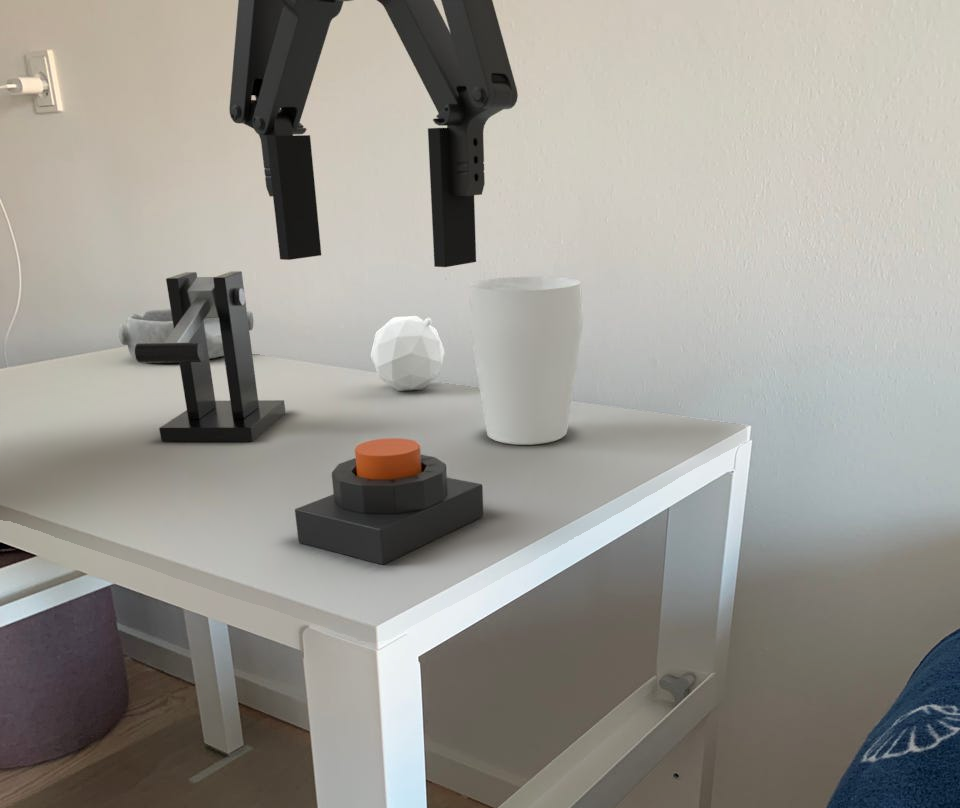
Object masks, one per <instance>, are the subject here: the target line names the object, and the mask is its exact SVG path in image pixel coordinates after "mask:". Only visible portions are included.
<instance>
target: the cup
mask: <svg viewBox="0 0 960 808" xmlns="http://www.w3.org/2000/svg"><path fill="white" fill-rule="evenodd" d="M583 322H584V315H583V299H582V281H581V280H579V279H576V278H571V277H563V276H562V277H560V276H511V277H501V278H500V277H499V278H497V277H496V278H490V279H483V280H478V281H475V282H472V283H470V284H469V318H468V328H469V335H470V340H471V346H472V352H473V353H472V354H473V359H474V364H475V370H476V376H477V377H476V378H477V383H478V387H479V393H480V395H479V396H480V400H481V404H482V405H481V406H482V412H483V418H484V424H485V429H486V435H487V437H488V438H490V439H491V440H493V441H495V442H498V443H502V444H506V445H507V444H508V445H515V446H516V445H517V446H530V445H531V446H532V445H542V444H549V443H553V442H555V441H559V440H561V439H563V438H564V437H565V436H566V435H567V433H568V427H569V420H570V414H571V408H572V407H571V406H572V400H573V393H574V387H575V380H576V373H577V366H578V358H579V354H580V346H581V345H580V344H581V338H582V333H583V332H582V331H583Z"/></svg>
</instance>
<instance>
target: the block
mask: <svg viewBox="0 0 960 808" xmlns="http://www.w3.org/2000/svg"><path fill="white" fill-rule="evenodd" d="M421 470H422V472H421V473H419V474H416V475H414V476H410V477H404V478H397V479H368V478H363V477H358V476H357V468H356V457H354V458H352V459H348V460H346V461H343V462H341V463H340V462H339V463H338V464H337V465H336V466H335V468H334V469H333V470H332V471H331V480H332V492H333V494H331V495H327V496H325V497H323V498H319V499H317V500H315V501H312V502H310V503H307V504H305V505H302V506H300V507H299V506H298V507H296V508H295V509H294V514H295V515H294V516H295V523H296V524H295V525H296V531H297V538H298V539H297V542H298V543H300V544H304V545H307V546H311V547H315V548H320V549H323V550H326V551H330V552H334V553H338V554H342V555H346V556H349V557H353V558H356V559H361V560H365V561H368V562H371V563H375V564H380V565H385V564H387V563H390V562H391V561H393V560H396V559H397V558H400V557H401V556H404V555H406V554H408V553H410V552H412V551H415V550H416V549H418V548H420V547H423V546H424V545H427V544H429V543H431V542H433V541H436V540H437V539H439V538H442V537H443V536H445V535H447V534H449V533H451V532H454V531H456V530H457V529H459V528H462V527H464V526H466V525H468V524H470V523H472V522H474V521H476V520H478V519H480V518H482V517H484V489H483V484H482V483H479V482H473V481H467V480H462V479H458V478H452V477H448V476H447V464H446V463H445V462H443V461H442V460H440V459H438V458H437V457H436V456H431V455H425V454H421Z"/></svg>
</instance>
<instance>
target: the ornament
mask: <svg viewBox="0 0 960 808" xmlns="http://www.w3.org/2000/svg"><path fill="white" fill-rule="evenodd" d="M432 324H433V320H432V319H431V317H426V318H425V319H424V320H423V319H422V318H421V317H419V316H417V315H409V316H393V317H392V318H391V319H390V320H388V321H387V322H386V323H385V324H384V325H383V326H382V327H380V328H379V329H378V330H377V331H376V332H375V335H374V339H373V343H372V348H371V352H370V358H371V360H372V363H373V366H374V368H375V370H376V373H377V376H378V378H379V379H380V380H382V381H383V382H384V383H386V384H388V385H389V386H391V387H392V388H394V389H395V390H396V391H398V392H404V391H419V390H424V388H425V387H427V386H428V385H429V384H430V383H431V382H432V381H434V379H436V378H437V377H438V376H439V375H440V374H441V373H440V372H441V369H442V366H443V365H442V364H443V361H444V357H445V351H446V350H445V348H444V346H443V343H442V341H441V338H440V334H439V332H438V330H437V328H435V327H434V326H432Z"/></svg>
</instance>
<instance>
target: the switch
mask: <svg viewBox="0 0 960 808" xmlns="http://www.w3.org/2000/svg"><path fill="white" fill-rule="evenodd" d="M214 277H215V276H197V278H196V279H195V281H194V282H193V283H192V285H191V286H190V287H189V289H188V290H187V293H188V297H189V301H190V305H191V306H190V307H189V309H188V310H187V311H186V313H185V314H184V316H183V317H182V318H181V320H180V321H179V323H178V324H177V326H176V327H175V328H174V330H173V331H172V333H171V334H170V335H169V337H168V338H167V340H166V341H165V342H164V343H138V344H136V346H135V357H136V358H135V359H136V361H137V362H138V363H140V364H144V363H145V364H149V363H150V364H151V363H157V364H158V363H179V362H202V361H203V359H204V349H203V346H202V344H201V343H189V341H190V340H191V338H192V337H193V335H194V334H195V332H196V331H197V329H198V328H199V326H200V325H201V323H202V322H203V320H204V319H205V318H219V316H218V309H217V301H216V294H215V287H214V280H213V278H214Z"/></svg>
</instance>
